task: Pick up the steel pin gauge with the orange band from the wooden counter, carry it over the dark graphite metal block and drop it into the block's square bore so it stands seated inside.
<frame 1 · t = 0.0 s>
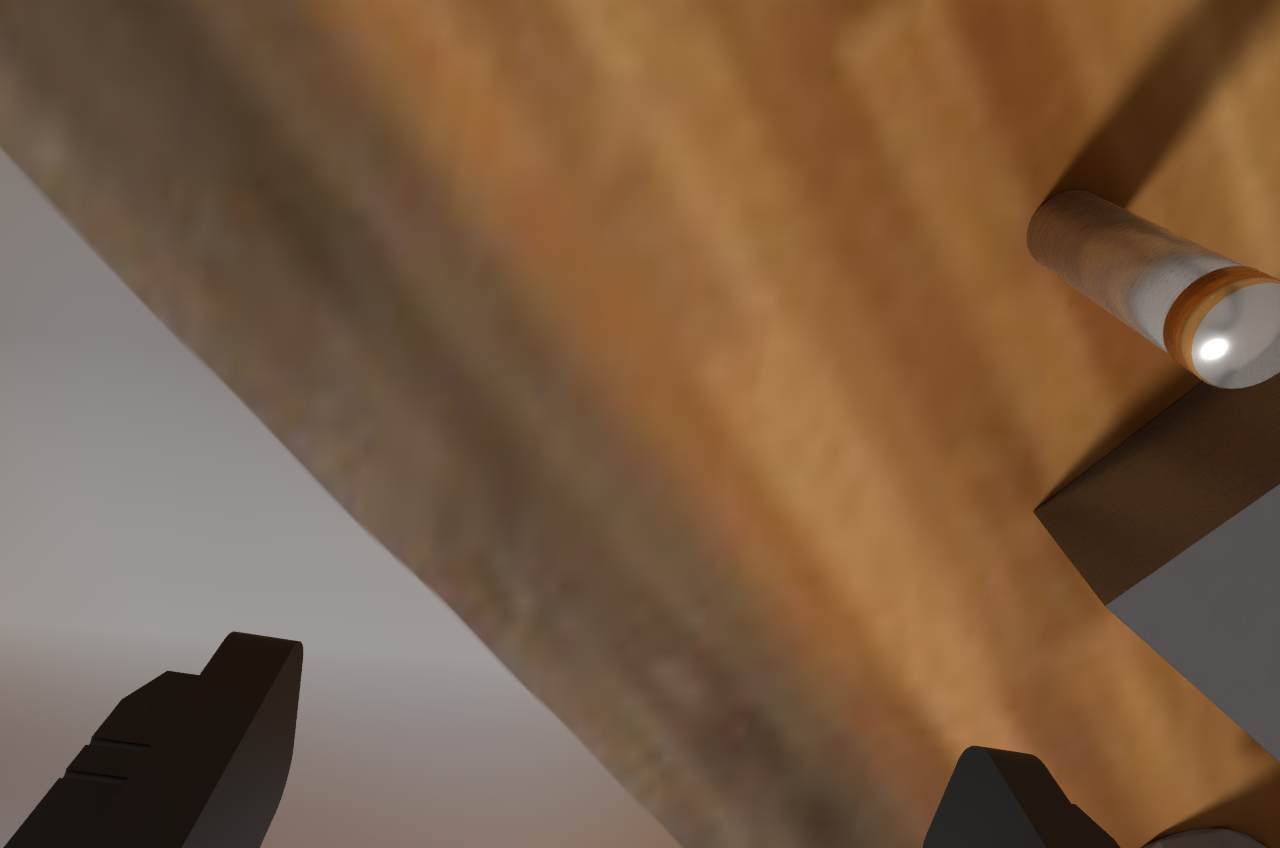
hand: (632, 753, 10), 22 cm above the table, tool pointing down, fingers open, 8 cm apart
bore block: (1270, 497, 36), on the table
pin gauge: (1066, 229, 30), on the table
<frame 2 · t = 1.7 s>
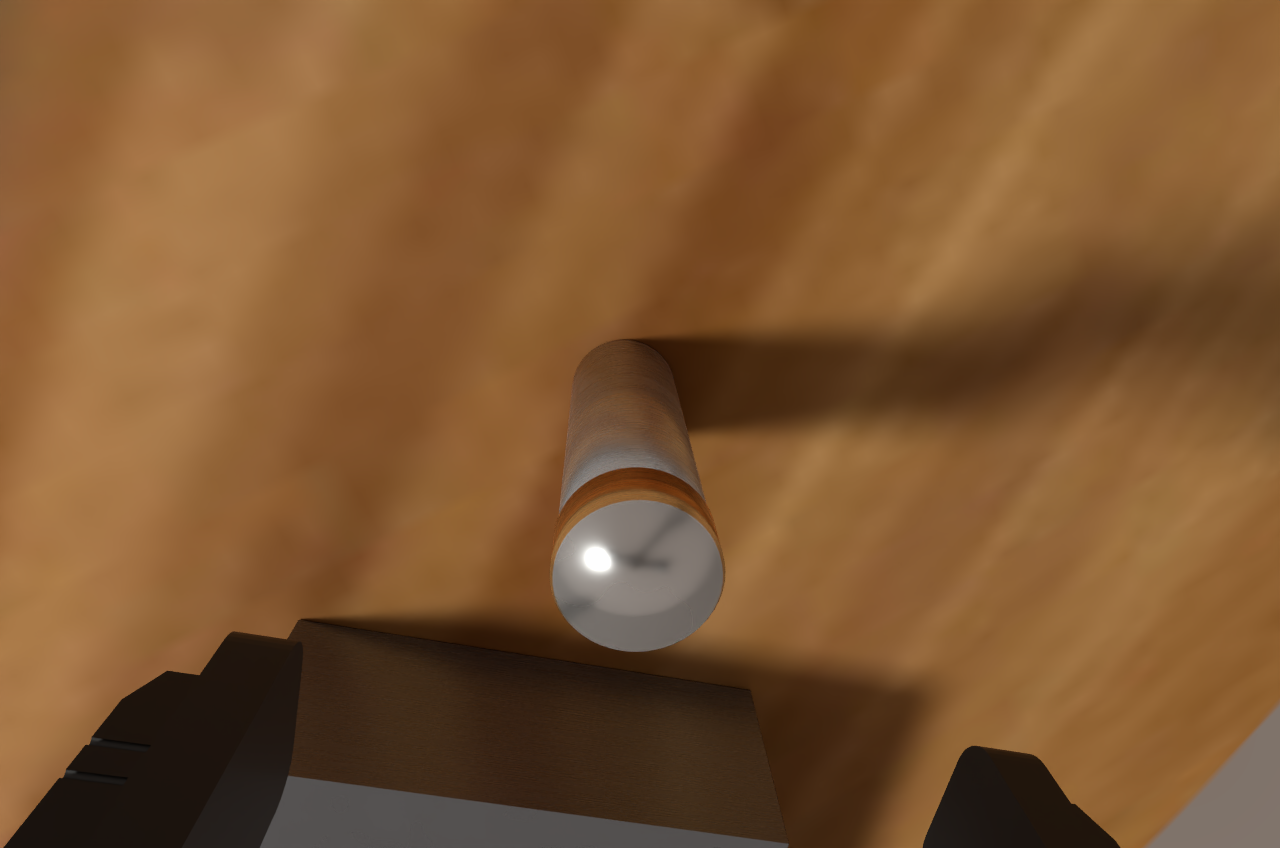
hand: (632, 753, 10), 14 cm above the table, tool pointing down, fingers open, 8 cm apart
bore block: (495, 828, 29), on the table
pin gauge: (623, 389, 23), on the table
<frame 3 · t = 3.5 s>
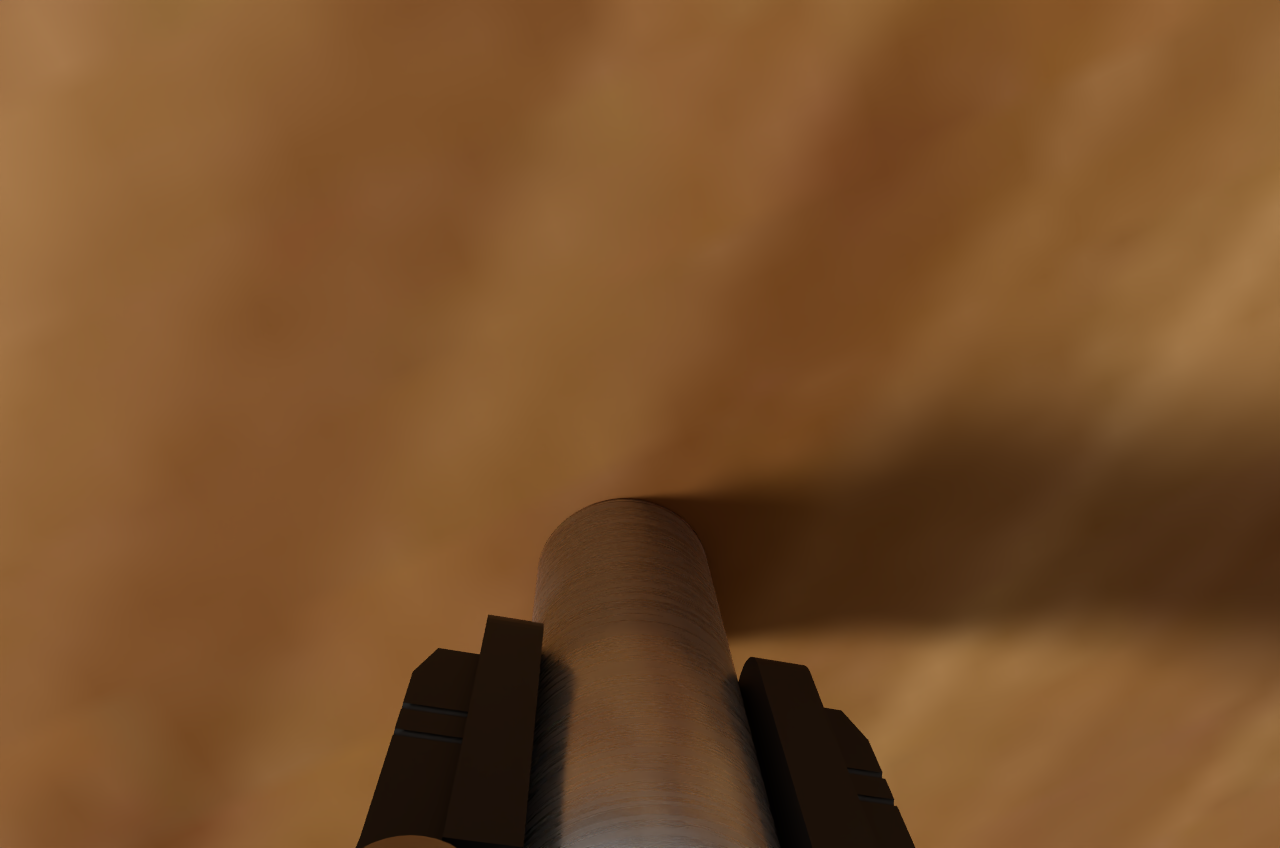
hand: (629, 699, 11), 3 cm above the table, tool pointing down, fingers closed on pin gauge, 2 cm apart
pin gauge: (623, 576, 14), on the table, touching gripper
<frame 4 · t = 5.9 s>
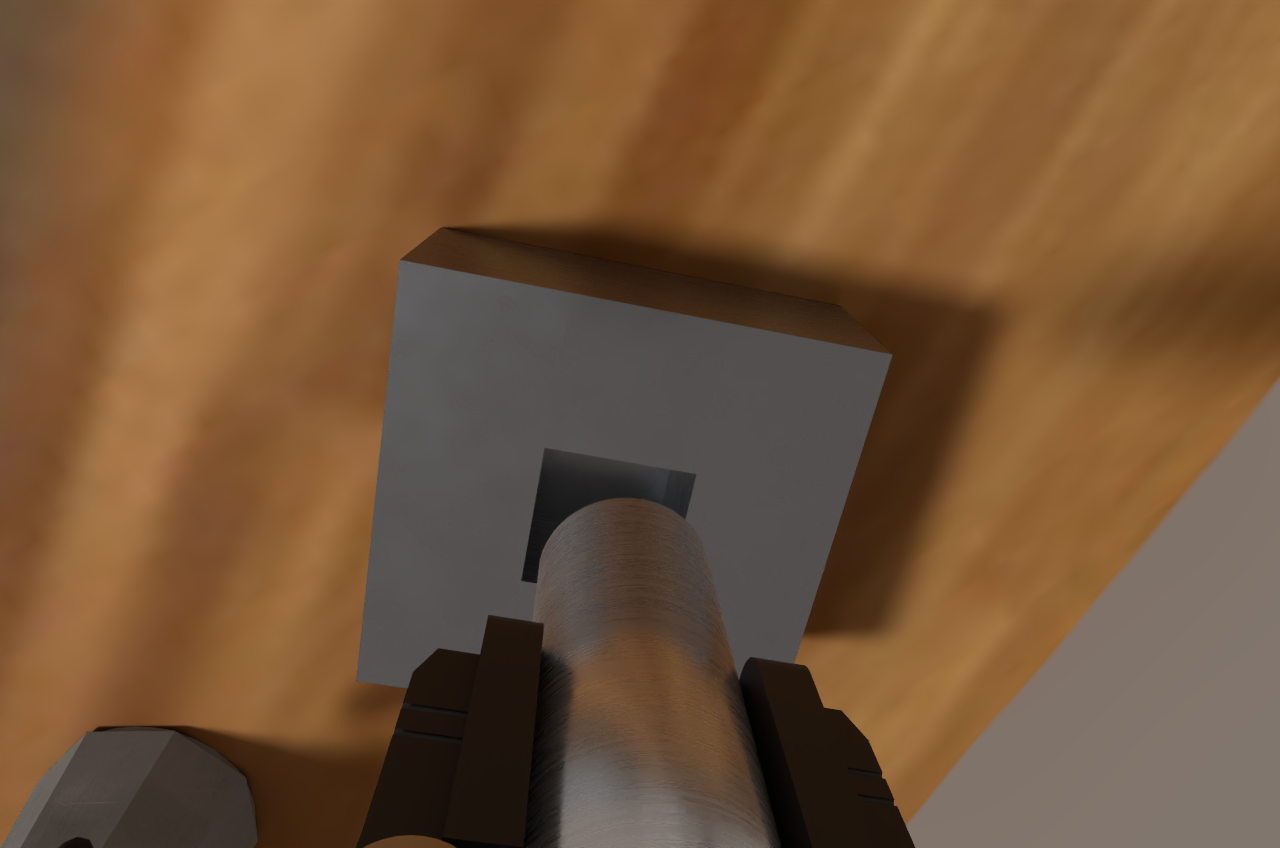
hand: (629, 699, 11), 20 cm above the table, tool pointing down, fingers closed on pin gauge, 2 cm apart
bore block: (607, 452, 32), on the table
pin gauge: (624, 575, 14), point 17 cm above the table, touching gripper
coffeepot: (162, 783, 37), on the table
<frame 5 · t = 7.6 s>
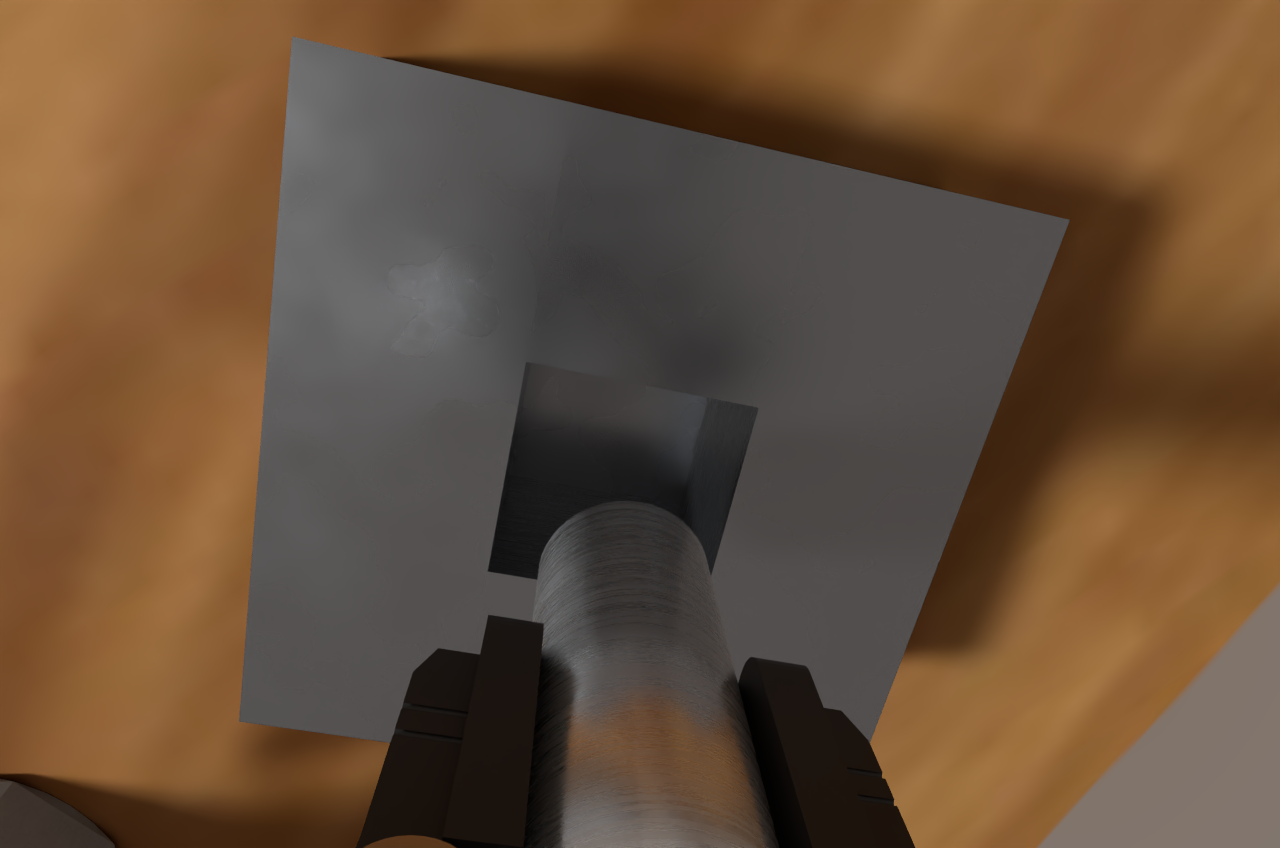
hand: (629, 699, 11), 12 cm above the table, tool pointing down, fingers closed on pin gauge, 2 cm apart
bore block: (613, 397, 23), on the table
pin gauge: (623, 578, 14), point 9 cm above the table, touching gripper
when the fingers open (7 cm above the table, at t = 8.8 s): pin gauge drops 3 cm, resting on bore block.
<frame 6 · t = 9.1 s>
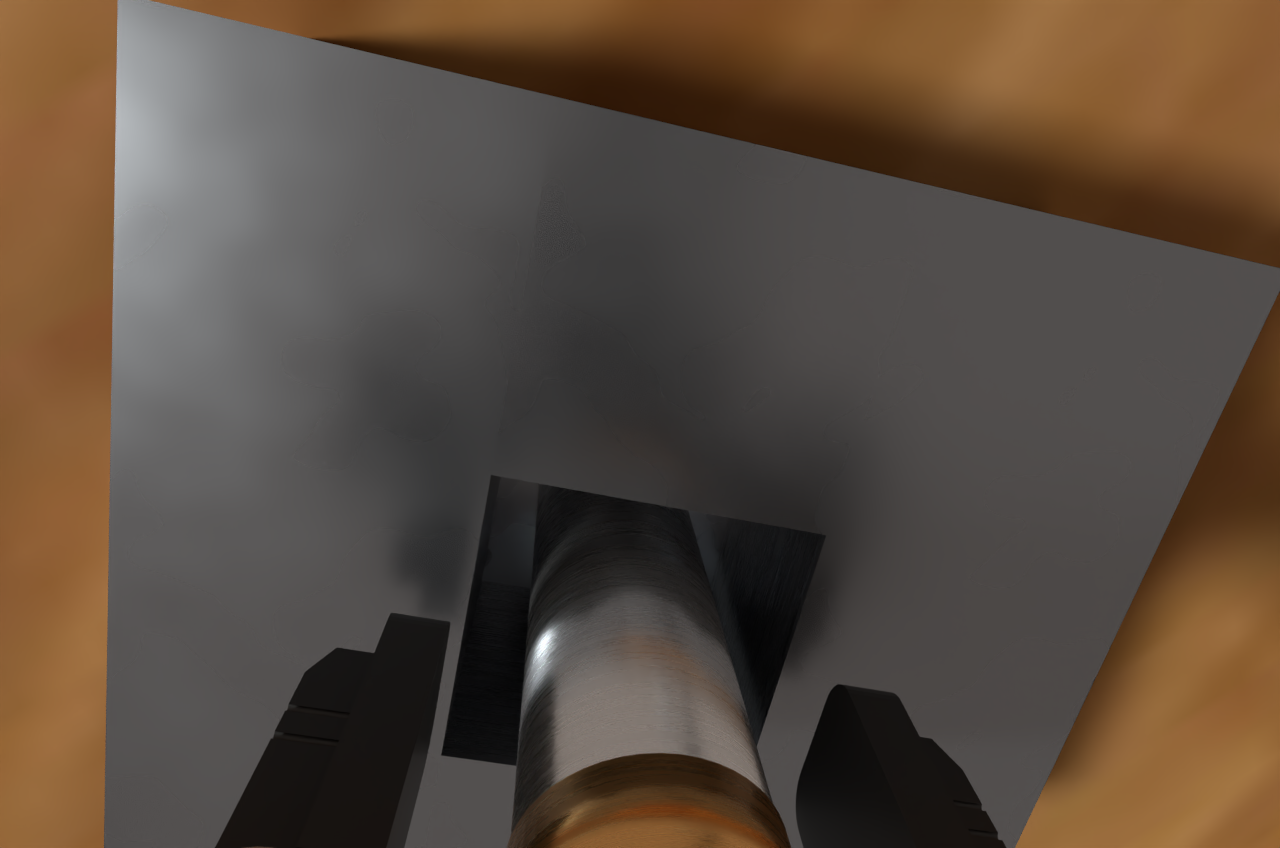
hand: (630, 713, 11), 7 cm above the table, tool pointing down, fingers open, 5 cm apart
bore block: (615, 478, 18), on the table
pin gauge: (610, 497, 17), point 1 cm above the table, touching bore block
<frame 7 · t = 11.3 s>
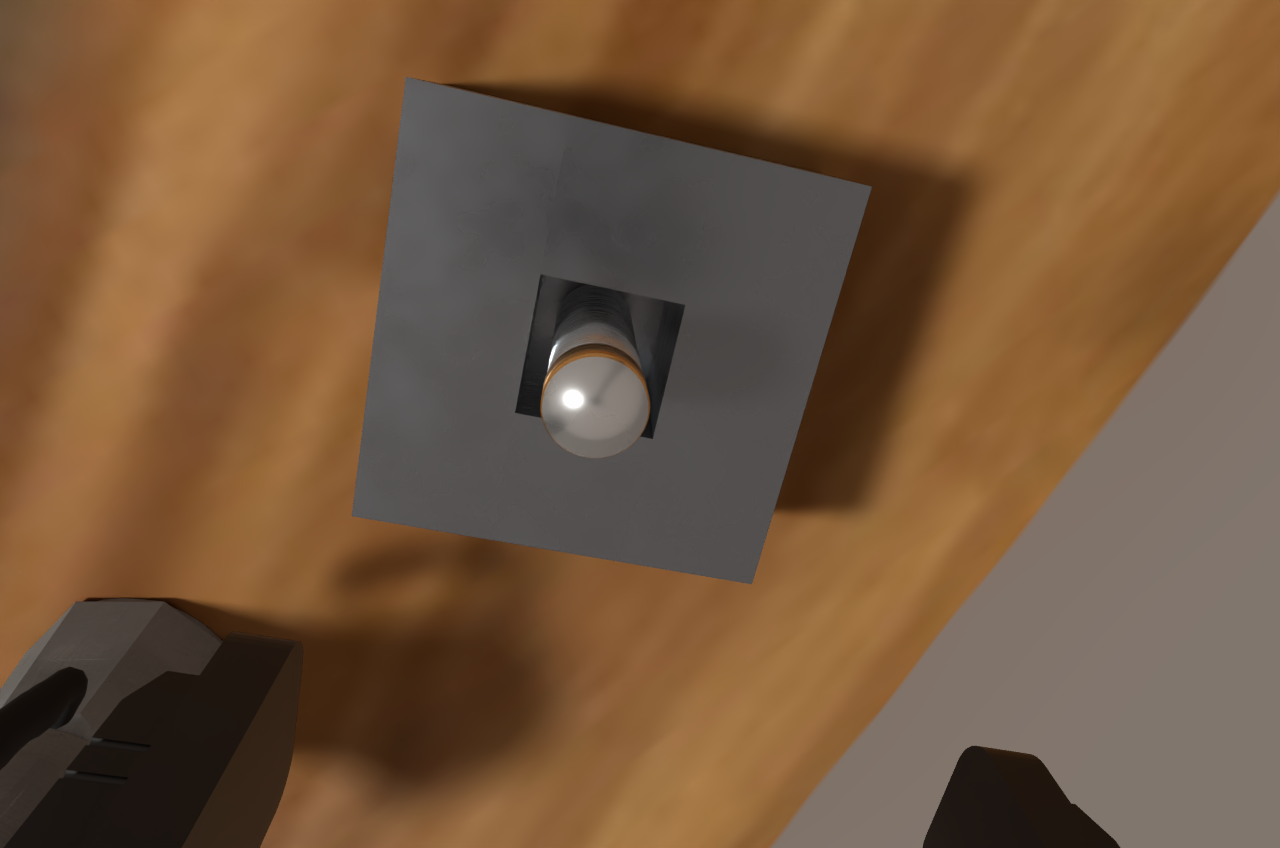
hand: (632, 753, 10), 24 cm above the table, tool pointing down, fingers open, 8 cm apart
bore block: (597, 317, 33), on the table
pin gauge: (593, 321, 32), point 1 cm above the table, touching bore block
coffeepot: (149, 660, 37), on the table
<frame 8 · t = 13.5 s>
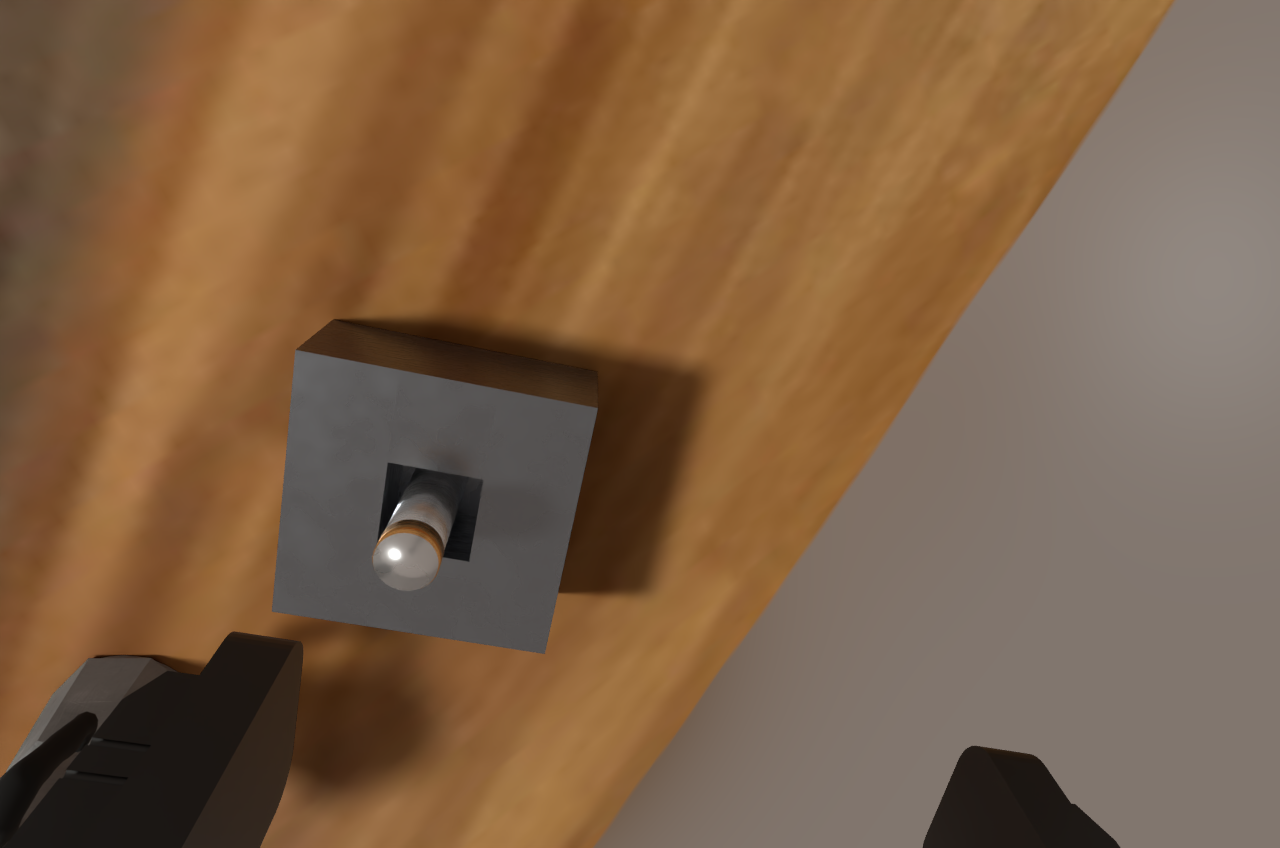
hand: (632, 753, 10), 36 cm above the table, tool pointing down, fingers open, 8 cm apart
bore block: (448, 465, 48), on the table
pin gauge: (443, 471, 47), point 1 cm above the table, touching bore block
coffeepot: (140, 698, 52), on the table
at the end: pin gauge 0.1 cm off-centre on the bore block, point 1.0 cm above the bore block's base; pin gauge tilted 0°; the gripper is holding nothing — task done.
